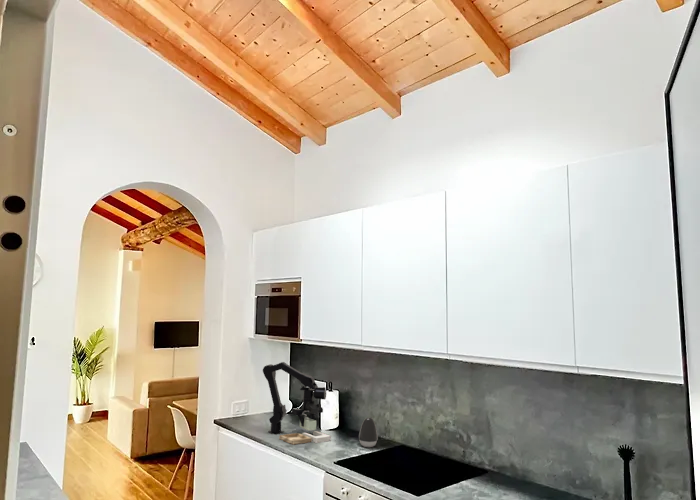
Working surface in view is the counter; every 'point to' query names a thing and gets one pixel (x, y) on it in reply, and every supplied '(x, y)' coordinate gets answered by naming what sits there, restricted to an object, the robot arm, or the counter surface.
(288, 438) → the tray
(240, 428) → the counter surface
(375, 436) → the egg shaped speaker
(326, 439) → the housing
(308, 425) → the caddy
